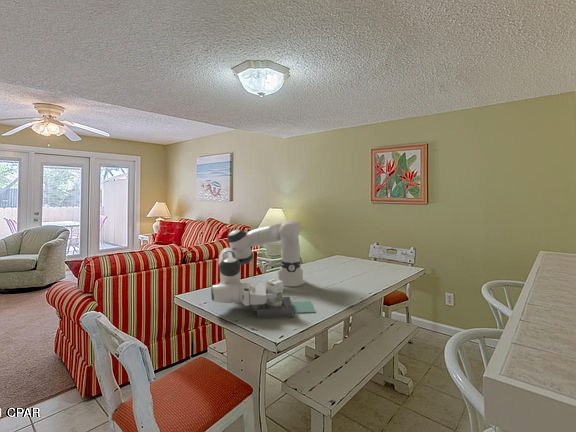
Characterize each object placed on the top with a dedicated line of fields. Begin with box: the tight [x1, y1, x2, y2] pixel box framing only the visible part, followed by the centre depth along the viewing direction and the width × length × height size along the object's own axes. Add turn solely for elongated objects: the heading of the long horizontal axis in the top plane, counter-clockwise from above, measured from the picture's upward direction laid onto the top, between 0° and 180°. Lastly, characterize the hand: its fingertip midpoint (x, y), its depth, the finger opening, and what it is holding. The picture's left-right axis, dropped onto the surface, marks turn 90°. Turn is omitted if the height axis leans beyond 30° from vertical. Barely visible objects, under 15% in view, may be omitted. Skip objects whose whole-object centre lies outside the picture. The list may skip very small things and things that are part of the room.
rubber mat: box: [291, 300, 316, 314], centre depth 149 cm, size 14×10×1 cm
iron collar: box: [256, 296, 294, 320], centre depth 143 cm, size 16×16×4 cm
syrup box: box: [265, 278, 284, 306], centre depth 143 cm, size 6×6×14 cm
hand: (276, 292), depth 143 cm, fingers closed on syrup box, 8 cm apart
